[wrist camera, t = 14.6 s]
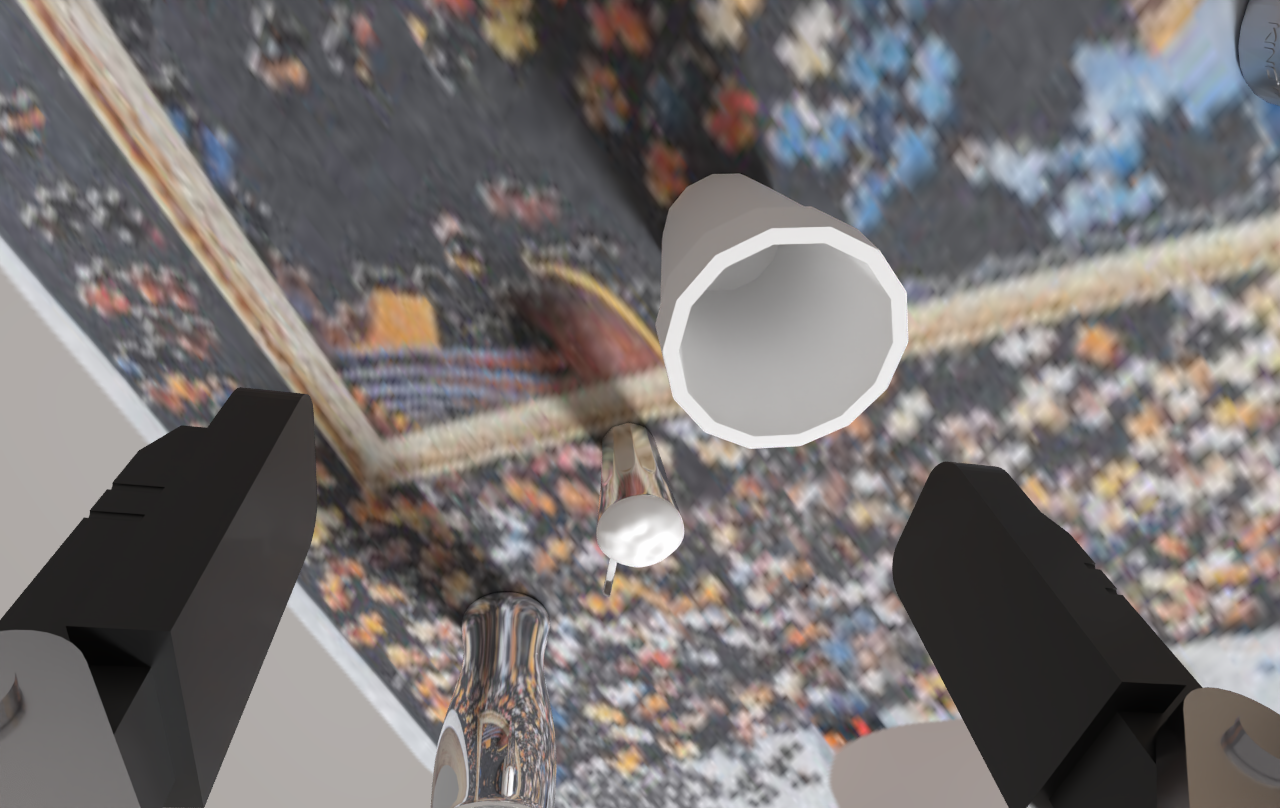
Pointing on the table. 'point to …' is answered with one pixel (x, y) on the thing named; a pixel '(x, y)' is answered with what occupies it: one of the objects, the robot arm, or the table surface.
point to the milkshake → (635, 502)
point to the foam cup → (773, 315)
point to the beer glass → (499, 712)
